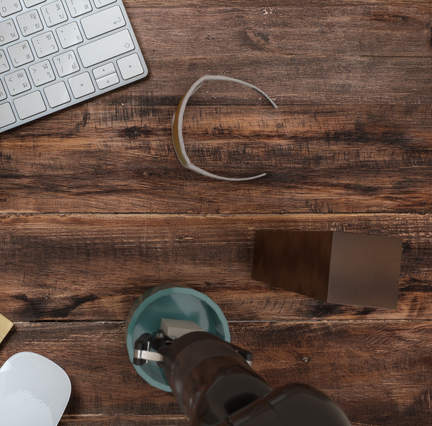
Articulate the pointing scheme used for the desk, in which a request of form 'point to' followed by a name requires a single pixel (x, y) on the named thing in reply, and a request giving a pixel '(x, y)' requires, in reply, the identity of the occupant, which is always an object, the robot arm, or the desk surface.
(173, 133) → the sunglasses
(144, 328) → the bowl
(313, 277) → the block
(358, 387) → the desk surface
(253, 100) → the desk surface
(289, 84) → the desk surface
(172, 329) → the block
